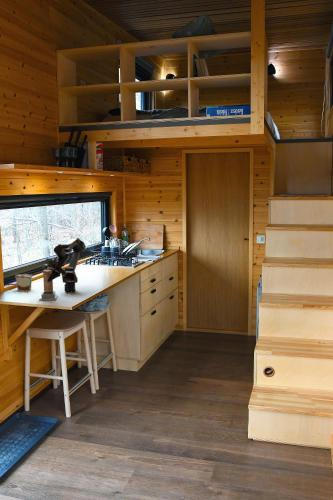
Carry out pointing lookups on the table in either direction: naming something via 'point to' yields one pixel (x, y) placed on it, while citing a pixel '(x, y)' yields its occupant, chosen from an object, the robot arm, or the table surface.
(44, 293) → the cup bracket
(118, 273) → the table surface
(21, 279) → the food container
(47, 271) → the walnut post
